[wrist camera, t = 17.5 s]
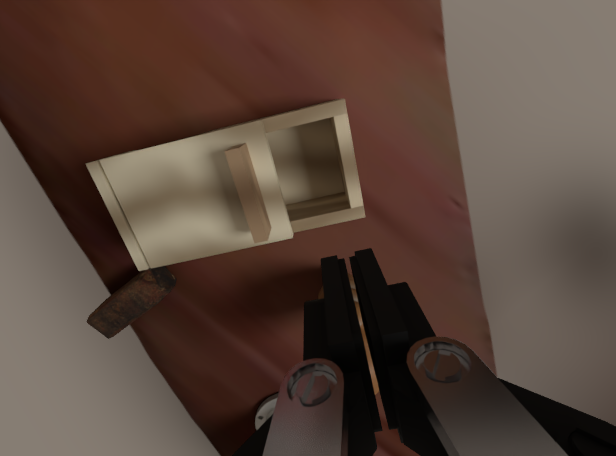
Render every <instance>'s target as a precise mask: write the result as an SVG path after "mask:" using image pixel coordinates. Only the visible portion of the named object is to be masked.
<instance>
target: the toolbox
mask: <svg viewBox="0 0 616 456" xmlns="http://www.w3.org/2000/svg"><path fill="white" fill-rule="evenodd" d="M258 120H262V121H263V125H264V128H265V132H266V136H267V139H268V143H269V147H270V150H271V154H272V158H273V161H274V165H275V169H276V172H277V176H278V180H279V183H280V187H281V191H282V194H283V198H284V202H285V205H286V209H287V213H288V216H289V220H290V224H291V227H292V231H293V233H294V232H299V231H303V230H308V229H313V228H317V227H322V226H326V225H331V224H336V223H340V222H345V221H350V220H354V219H359V218H363V217H365V212H364V206H363V201H362V195H361V189H360V183H359V178H358V172H357V166H356V161H355V155H354V149H353V143H352V138H351V132H350V126H349V121H348V115H347V109H346V104H345V99H336V100H332V101H328V102H324V103H320V104H316V105H312V106H308V107H304V108H300V109H296V110H292V111H288V112H284V113H280V114H276V115H272V116H268V117H264V118H260V119H256V120H252V121H248V122H244V123H240V124H236V125H232V126H228V127H224V128H220V129H216V130H212V131H209V132H205V133H202V134H206V133H210V132H214V131H218V130H222V129H226V128H230V127H234V126H238V125H242V124H246V123H250V122H254V121H258ZM202 134H199V135H202ZM196 136H198V135H196ZM193 137H194V136H193Z"/></svg>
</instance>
